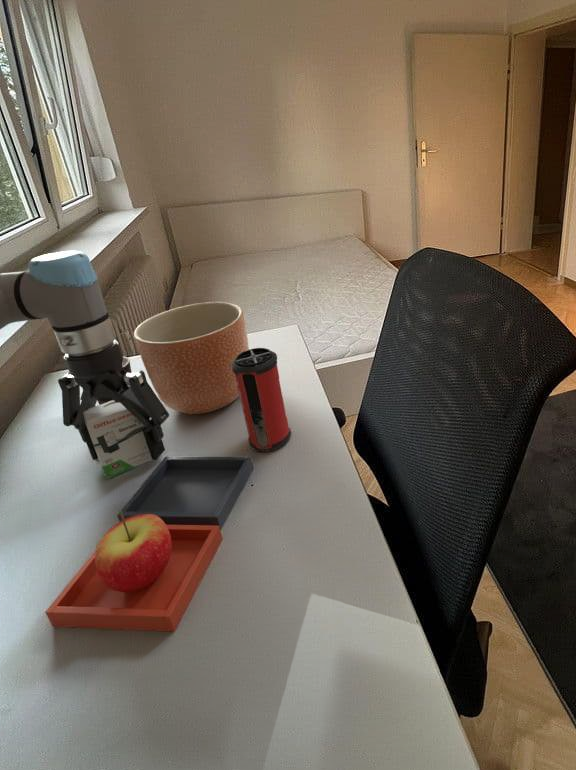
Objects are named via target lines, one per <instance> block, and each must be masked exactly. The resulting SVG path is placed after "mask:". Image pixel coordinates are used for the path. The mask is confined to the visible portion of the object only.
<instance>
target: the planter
mask: <svg viewBox="0 0 576 770" xmlns="http://www.w3.org/2000/svg"><path fill="white" fill-rule="evenodd" d="M248 337H249V336H248V331H247V326H246V319H245V315H244V310H243V309H242V307H241V306H239V305H237V304H235V303H231V302H225V301H224V302H222V301H209V302H199V303H198V302H197V303H192V304H187V305H182V306H178V307H175V308H172V309H169V310H165V311H163V312H160V313H158V314H156V315H153V316H151V317H149V318H147V319H145V320H144V321H142V322H141V323H140V324H139V325H138V326H137V327H136V328H135V329H134V331H133V338H134V341H135V345H136V347H137V349H138V354H139V356H140V359H141V361H142V364H143V366H144V368H145V371H146V374H147V376H148V379H149V381H150V383H151V385H152V387H153V389H154V392H155V394H156V395H157V397H158V399H159V400H160V401H161V403H162V404H163V405H165V406H166V407H168V408H169V409H171V410H173V411H175V412H179V413H183V414H189V415H199V414H205V413H207V414H208V413H211V412H214V411H218V410H219V409H222V408H224V407H226V406H228V405H229V404H231V403H232V402H234V401H235V400H236V399H238V397H240V396H239V392H238V387H237V383H236V378H235V374H234V372H233V370H232V366H231V365H232V362H233V361H234V360H235V358H236V357H237V356H238V355H239V354H240V353H242V352H244V351H247V350H250V345H249V339H248Z"/></svg>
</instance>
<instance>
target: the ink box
mask: <svg viewBox="0 0 576 770" xmlns="http://www.w3.org/2000/svg"><path fill="white" fill-rule="evenodd" d="M83 414H84V418H85V423H86V426H87V428H88V431H89V434H90V437H91V440H92V442H93V445H94V448H95V450H96V453H97V456H98V461H99V464H100V467H101V470H102V472H103V475H104V477H105V479H107V480H108V479H110V478H113V477H115V476H117V475H120V474H122V473H124V472H127V471H129V470H131V469H134V468H136V467H138V466H141V465H142V464H143V465H144V464H146V463H147V462H148V463H149V462H150V461H153V460H152V457H151V454H150V451H149V449H148V446H147V443H146V440H145V437H144V434H143V431H142V430H143V429H144V428H145V426H144V425H143V424H142V423H141V422H140V421H139V420H138V419H137V418H136V417H135V416H134V415H133V414H132V413H130V412H129V411H128V410H127V409H126V408H125V407H124V406H123V405H122V404H121V403H117V402H115V401H114V400H113V401H109V402H107V403H104V404H101V405H99V404H97V405H95V407H92V408H89V409H88V410H87V411H84V412H83Z"/></svg>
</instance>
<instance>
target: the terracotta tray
mask: <svg viewBox="0 0 576 770" xmlns="http://www.w3.org/2000/svg"><path fill="white" fill-rule="evenodd" d="M166 526H167V528H168V530H169V532H170V536H171V542H172V549H171V555H170V559H169V562H168V564H167V566H166V567H165V569H164V571H163V572H162V573H161V574H160V576H159V577H158V578H157V579H156V580H155V581H154V582H152V583H151V584H150V585H148V586H147V587H145V588H143V589H140V590H137V591H132V592H120V591H116V590H113V589H111V588H109V587H108V586H106V585H105V584H104V583H103V581H102V580H101V578H100V577H99V575H98V572H97V569H96V564H95V553H96V549H95V550H94V551H93V552H92V553H91V555H90V556H89V557H88V559H87V560H86V561H85V562H84V563H83V564H82V566H81V567H80V568H79V570H78V571H77V572H76V574H75V575H74V576H73V577H72V578H71V580H69V582H68V583H67V584H66V586H65V587H64V588H63V589H62V591H61V592H60V593H59V595H58V596H57V597H56V598H55V599H54V600H53V602H52V603H51V605H50V606H49V607H48V608H47V609H46V611H45V612H44V613H45V615H46V617H47V619H48V621H49V623H50V624H51V627H53V628H54V627H55V628H78V629H101V630H102V629H103V630H105V629H107V630H128V631H129V630H130V631H131V630H132V631H156V632H176V630H177V629H178V627H179V624H180V622H181V620H182V618H183V617H184V614H185V612H186V611H187V609H188V607H189V605H190V603H191V601H192V599H193V597H194V595H195V593H196V591H197V589H198V588H199V585H200V584H201V582H202V580H203V578H204V576H205V574H206V573H207V570H208V569H209V566H210V565H211V563H212V561H213V560H214V557H215V555H216V553H217V551H218V549H219V547H220V546H221V544H222V542H223V539H224V538H223V534H222V529H221V530H220V527H219V526H214V525H166Z"/></svg>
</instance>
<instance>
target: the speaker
mask: <svg viewBox="0 0 576 770" xmlns="http://www.w3.org/2000/svg"><path fill="white" fill-rule="evenodd" d="M231 366H232V370H233V372H234V374H235V378H236V383H237V387H238V392H239V396H238V397H239V400H240V404H241V408H242V413H243V419H244V422H245V427H246V430H247V436H248V438H247V441H248V444H249V446H250V448H251V449H253V450H255V451H257V452H271V451H275V450H277V449H279V448H280V447H282V446H283V445H285V444H286V443H288V441H289V440H290V438H291V436H292V430H291V428H290V427H289V422H288V417H287V415H286V414H287V413H286V408H285V403H284V398H283V391H282V388H281V387H282V386H281V381H280V374H279V369H278V368H279V367H278V354H277V353H276V352H275V351H273V350H270V349H268V348H265V347H255V348H251V349H250V348H249V350H247V351H244V352H242V353H240V354H239V355H238V356H237V357H236V358H235V360H234V361H233V362H232V365H231Z"/></svg>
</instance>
